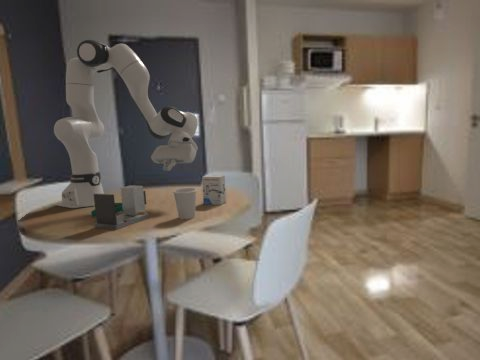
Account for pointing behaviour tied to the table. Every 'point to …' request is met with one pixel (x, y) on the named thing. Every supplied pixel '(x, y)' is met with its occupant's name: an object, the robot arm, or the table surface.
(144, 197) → the tall grey rectangular prism
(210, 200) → the ink box
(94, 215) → the digital multimeter
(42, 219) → the table surface
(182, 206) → the dixie cup
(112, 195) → the gauge bed
